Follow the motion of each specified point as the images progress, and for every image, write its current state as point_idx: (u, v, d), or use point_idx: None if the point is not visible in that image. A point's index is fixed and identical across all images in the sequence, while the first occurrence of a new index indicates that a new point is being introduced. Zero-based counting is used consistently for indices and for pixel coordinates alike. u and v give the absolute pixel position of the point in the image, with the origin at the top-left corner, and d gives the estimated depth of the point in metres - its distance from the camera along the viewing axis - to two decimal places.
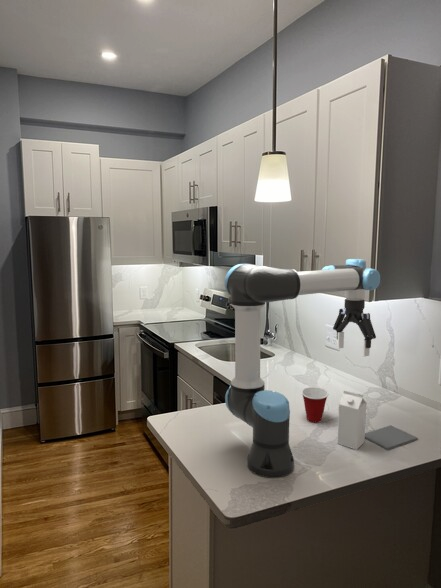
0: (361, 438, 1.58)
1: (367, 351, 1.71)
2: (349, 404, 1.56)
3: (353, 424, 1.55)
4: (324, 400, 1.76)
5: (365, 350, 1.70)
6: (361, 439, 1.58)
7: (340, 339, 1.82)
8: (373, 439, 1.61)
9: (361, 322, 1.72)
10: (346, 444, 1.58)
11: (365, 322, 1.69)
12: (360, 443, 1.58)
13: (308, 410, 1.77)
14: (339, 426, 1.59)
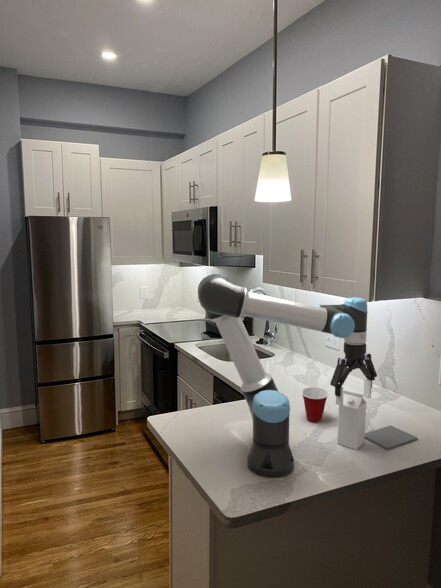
0: (361, 437, 1.58)
1: (339, 400, 1.54)
2: (349, 404, 1.56)
3: (353, 424, 1.55)
4: (324, 400, 1.76)
5: (337, 398, 1.55)
6: (361, 439, 1.58)
7: (365, 387, 1.61)
8: (373, 439, 1.61)
9: (345, 368, 1.54)
10: (346, 444, 1.58)
11: None
12: (360, 443, 1.58)
13: (308, 410, 1.77)
14: (339, 426, 1.59)
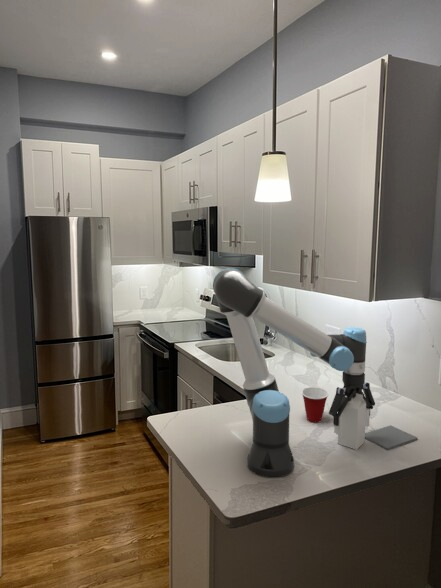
0: (361, 437, 1.58)
1: (337, 429, 1.56)
2: (349, 404, 1.56)
3: (353, 424, 1.55)
4: (324, 400, 1.76)
5: (335, 426, 1.56)
6: (361, 439, 1.58)
7: None
8: (373, 439, 1.61)
9: (344, 397, 1.56)
10: (346, 444, 1.58)
11: None
12: (360, 443, 1.58)
13: (308, 410, 1.77)
14: None
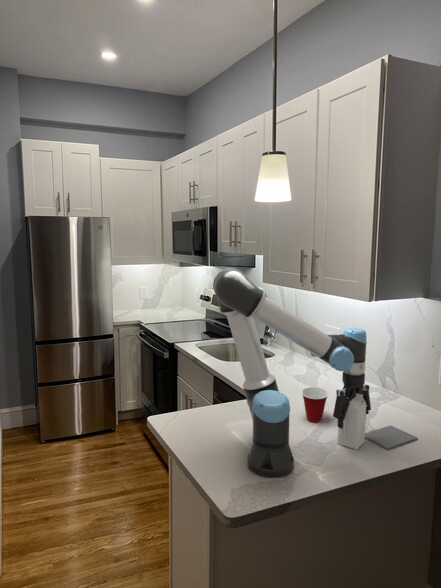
0: (361, 437, 1.58)
1: (341, 431, 1.57)
2: (349, 404, 1.56)
3: (353, 424, 1.55)
4: (324, 400, 1.76)
5: (339, 429, 1.58)
6: (361, 439, 1.58)
7: None
8: (373, 439, 1.61)
9: (345, 399, 1.56)
10: (346, 444, 1.58)
11: None
12: (360, 443, 1.58)
13: (308, 410, 1.77)
14: None
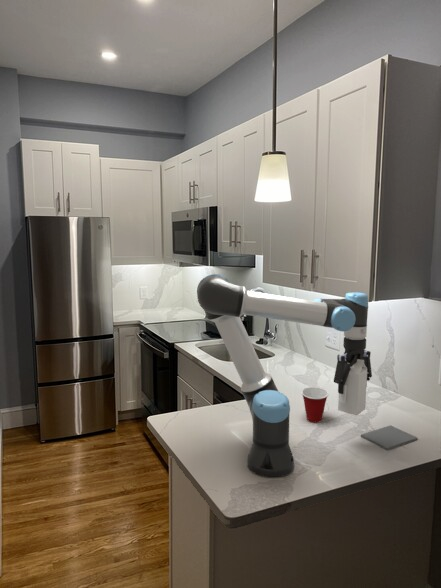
0: (362, 404, 1.56)
1: (342, 397, 1.55)
2: (350, 369, 1.54)
3: (354, 390, 1.53)
4: (324, 400, 1.76)
5: (340, 395, 1.56)
6: (362, 405, 1.56)
7: None
8: (373, 439, 1.61)
9: (346, 364, 1.55)
10: (346, 410, 1.56)
11: None
12: (361, 409, 1.56)
13: (308, 410, 1.77)
14: None
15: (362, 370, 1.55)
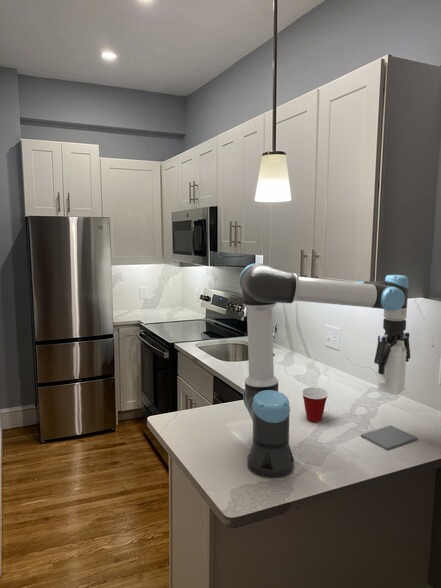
0: (402, 384, 1.59)
1: (382, 378, 1.58)
2: None
3: (395, 370, 1.56)
4: (324, 400, 1.76)
5: (380, 376, 1.59)
6: (401, 385, 1.59)
7: None
8: (373, 439, 1.61)
9: (386, 345, 1.58)
10: (387, 390, 1.59)
11: None
12: (400, 390, 1.59)
13: (308, 410, 1.77)
14: None
15: (402, 351, 1.58)
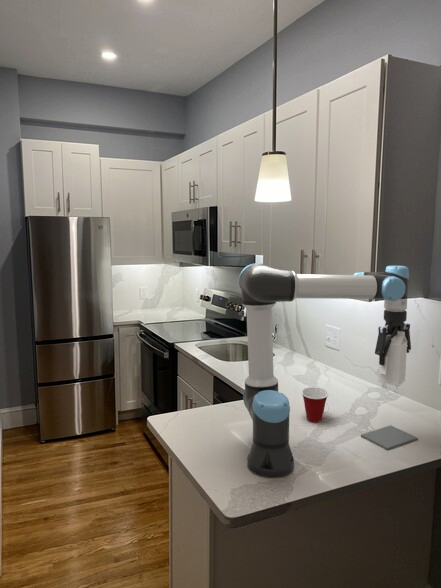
0: (402, 375, 1.59)
1: (383, 369, 1.58)
2: (391, 341, 1.57)
3: (395, 361, 1.56)
4: (324, 400, 1.76)
5: (381, 367, 1.58)
6: (402, 376, 1.59)
7: None
8: (373, 439, 1.61)
9: (387, 336, 1.57)
10: (387, 382, 1.58)
11: None
12: (401, 381, 1.58)
13: (308, 410, 1.77)
14: None
15: (403, 342, 1.57)
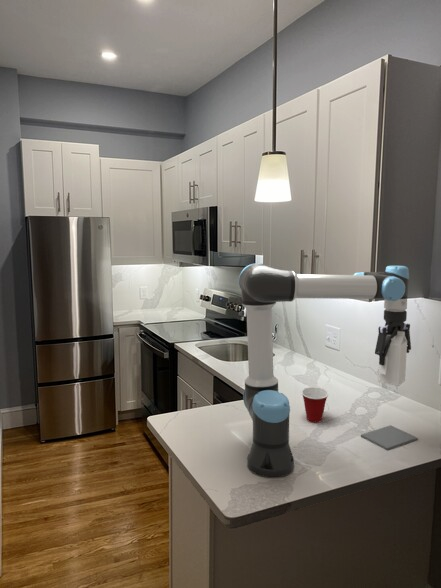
0: (402, 375, 1.59)
1: (383, 369, 1.58)
2: (391, 341, 1.57)
3: (395, 361, 1.56)
4: (324, 400, 1.76)
5: (381, 367, 1.58)
6: (402, 376, 1.59)
7: None
8: (373, 439, 1.61)
9: (387, 336, 1.57)
10: (387, 382, 1.58)
11: None
12: (401, 381, 1.58)
13: (308, 410, 1.77)
14: None
15: (403, 342, 1.57)
